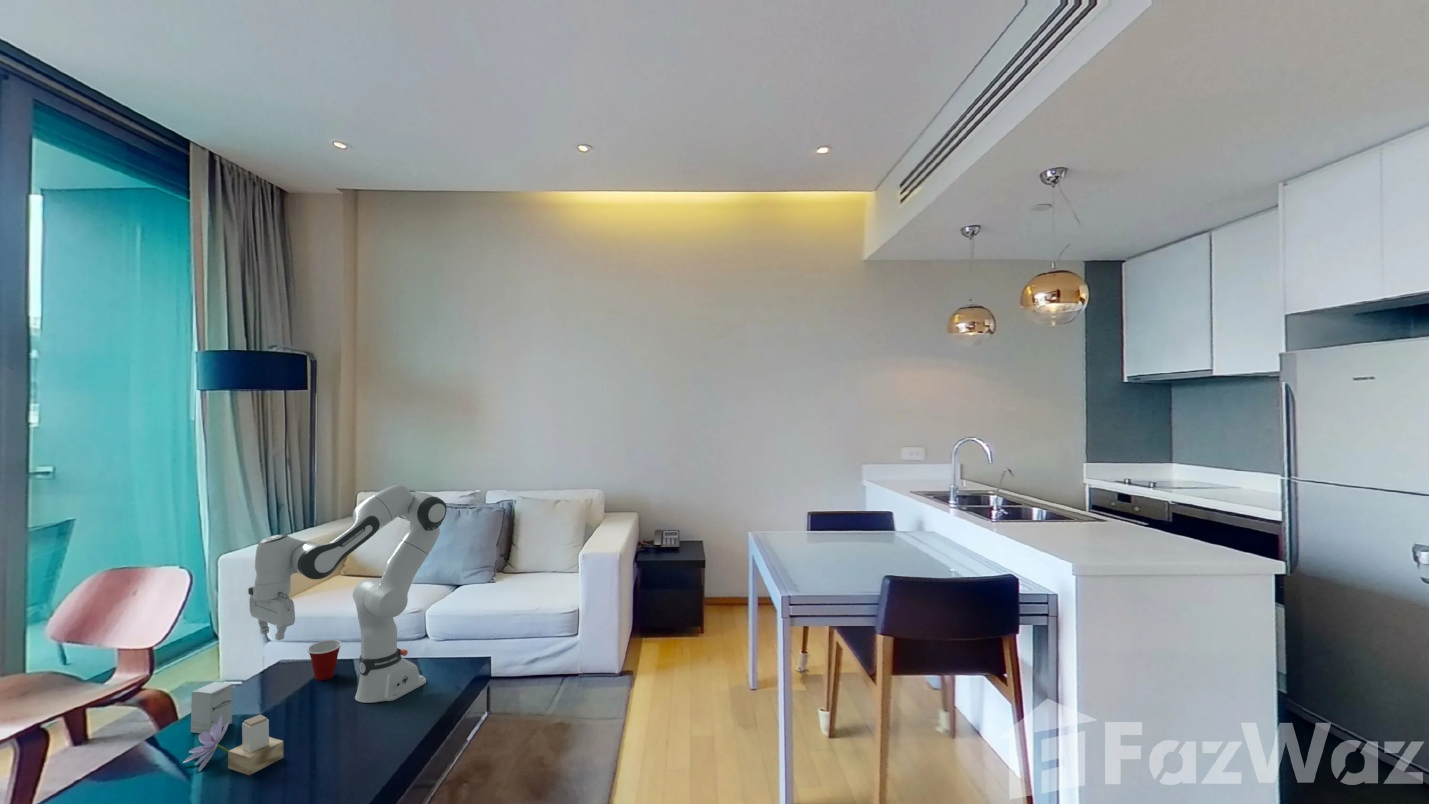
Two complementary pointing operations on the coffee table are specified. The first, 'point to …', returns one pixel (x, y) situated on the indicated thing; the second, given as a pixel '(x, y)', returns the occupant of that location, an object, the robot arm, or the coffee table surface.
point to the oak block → (255, 757)
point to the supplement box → (211, 706)
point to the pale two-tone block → (255, 733)
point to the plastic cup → (324, 658)
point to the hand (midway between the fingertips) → (272, 636)
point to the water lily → (208, 744)
